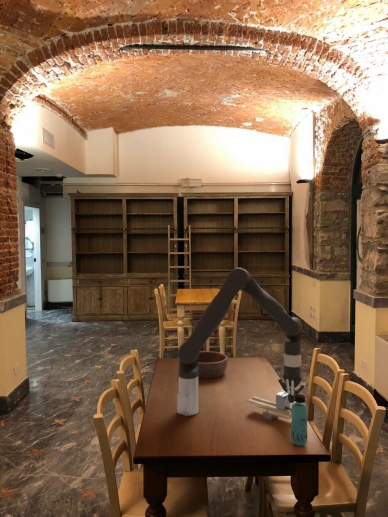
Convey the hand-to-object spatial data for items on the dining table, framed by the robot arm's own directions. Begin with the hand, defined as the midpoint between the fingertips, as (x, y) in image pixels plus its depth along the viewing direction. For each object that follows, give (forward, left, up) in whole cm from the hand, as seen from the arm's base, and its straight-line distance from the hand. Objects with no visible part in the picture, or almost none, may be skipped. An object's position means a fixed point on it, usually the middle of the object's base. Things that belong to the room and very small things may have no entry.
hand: (291, 402), depth 183 cm
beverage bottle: (-15, -11, -10) cm, 21 cm away
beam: (0, +10, -10) cm, 14 cm away
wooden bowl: (+29, +69, -10) cm, 76 cm away
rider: (0, +4, -5) cm, 7 cm away
